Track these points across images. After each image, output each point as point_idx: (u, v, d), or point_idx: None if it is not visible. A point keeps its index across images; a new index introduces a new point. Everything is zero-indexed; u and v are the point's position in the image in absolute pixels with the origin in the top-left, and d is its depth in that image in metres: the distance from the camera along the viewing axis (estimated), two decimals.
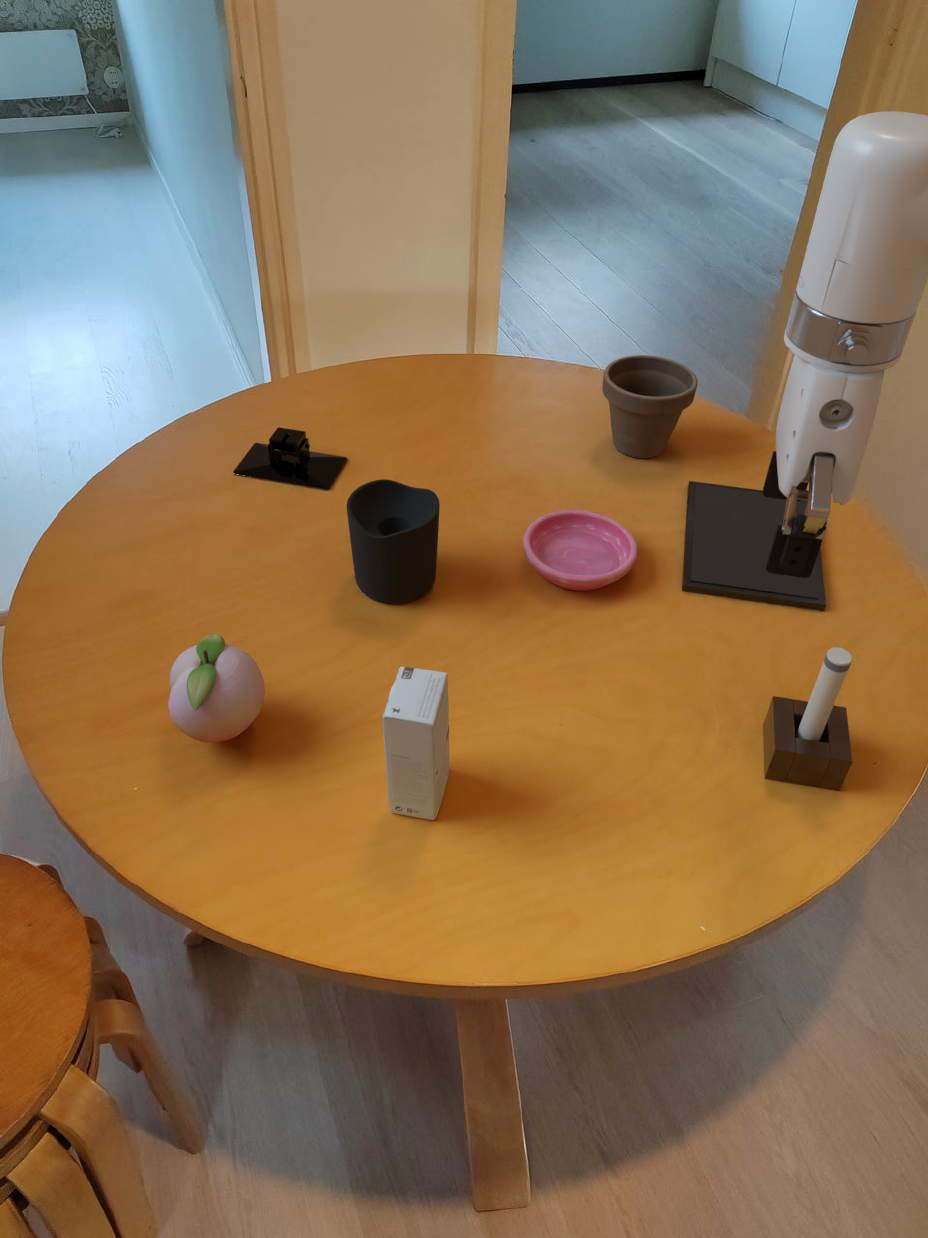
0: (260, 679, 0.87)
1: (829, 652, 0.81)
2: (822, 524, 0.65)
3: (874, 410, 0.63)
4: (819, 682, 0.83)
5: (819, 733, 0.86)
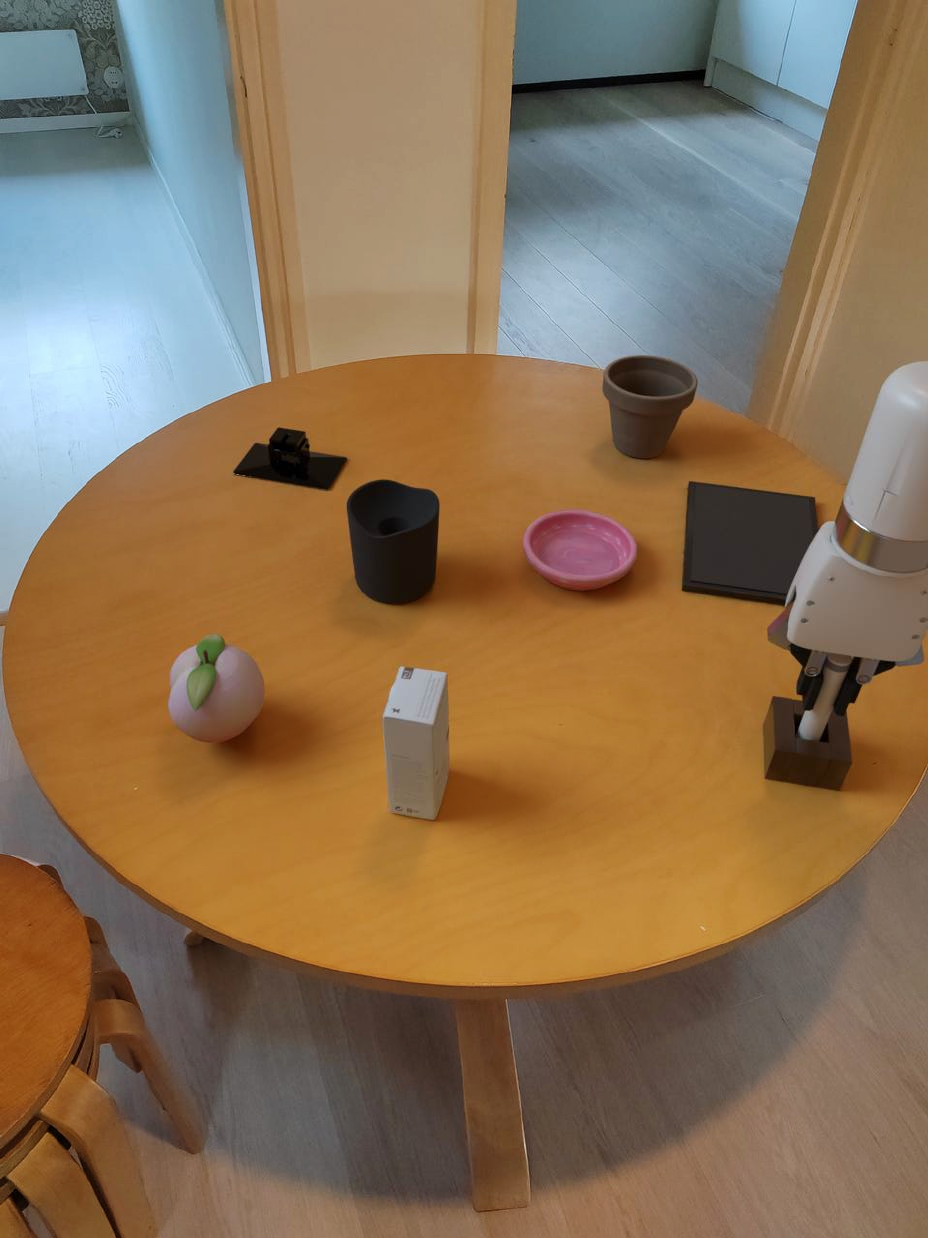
0: (260, 679, 0.87)
1: (829, 652, 0.81)
2: None
3: None
4: None
5: (819, 733, 0.86)
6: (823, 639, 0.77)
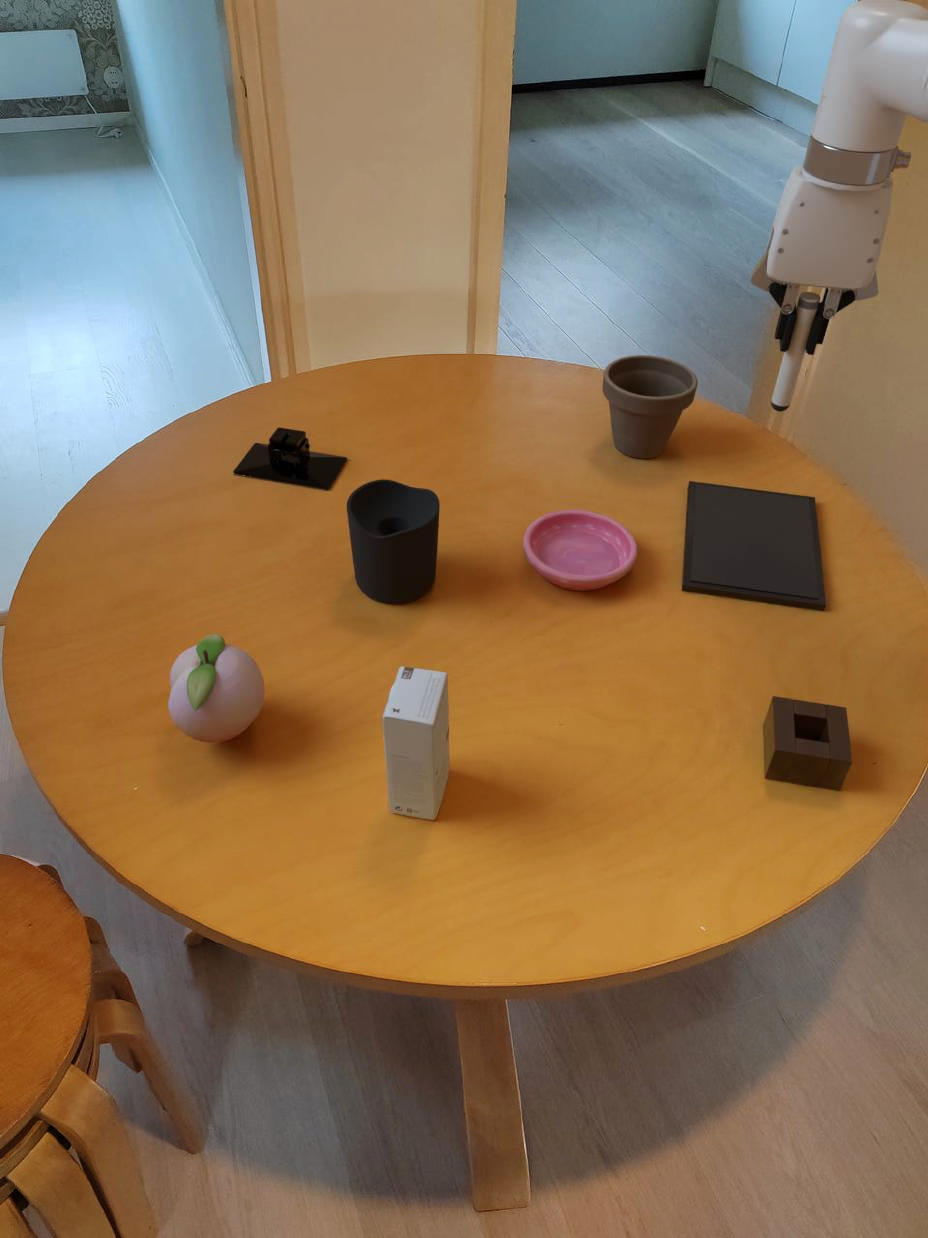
0: (260, 679, 0.87)
1: (801, 293, 0.98)
2: None
3: None
4: None
5: (794, 378, 1.03)
6: (796, 269, 0.95)
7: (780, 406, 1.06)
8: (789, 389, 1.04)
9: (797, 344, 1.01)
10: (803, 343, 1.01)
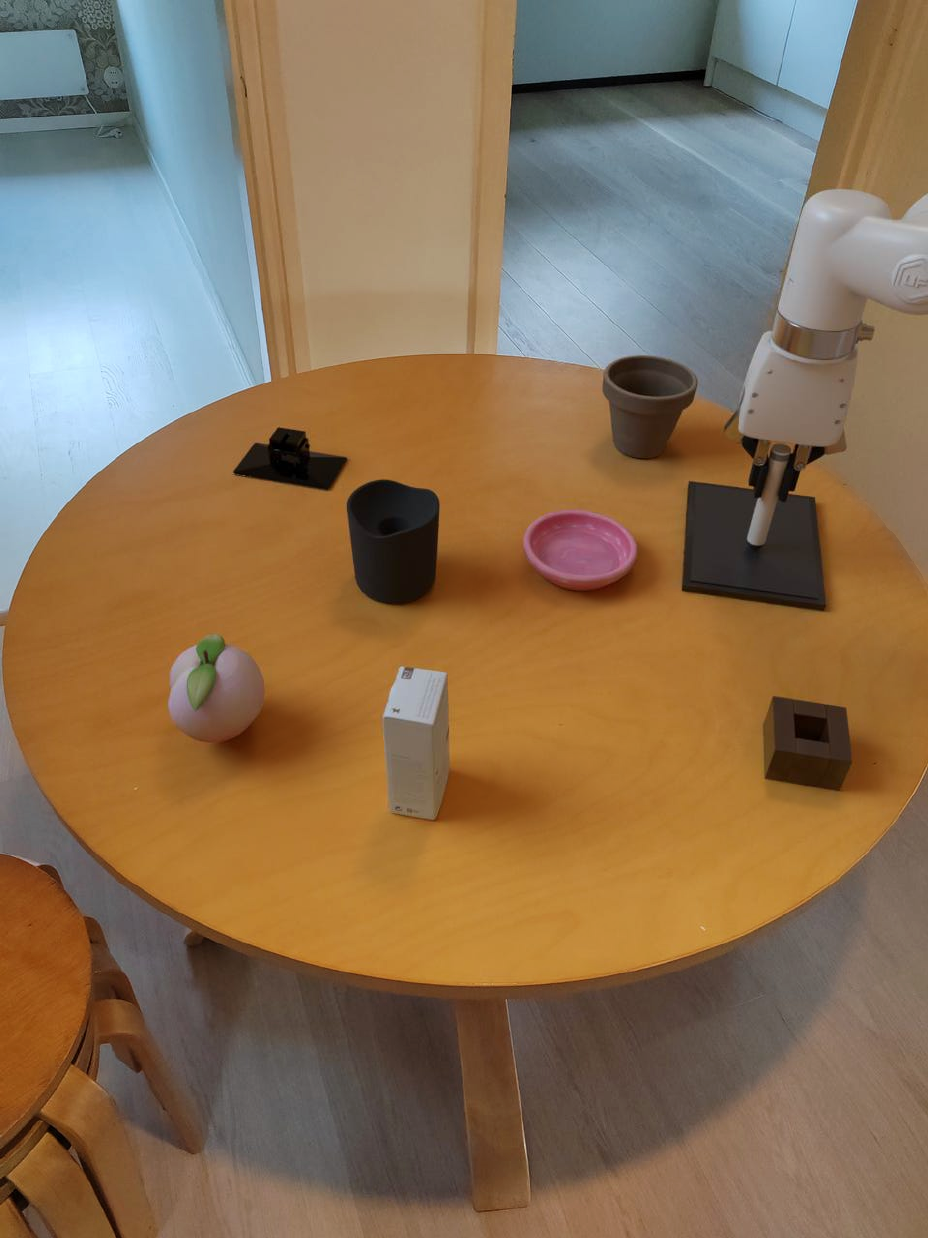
0: (260, 679, 0.87)
1: (773, 446, 1.02)
2: None
3: None
4: None
5: (768, 521, 1.07)
6: (766, 428, 0.98)
7: (755, 545, 1.09)
8: (763, 530, 1.08)
9: (770, 491, 1.04)
10: (775, 490, 1.04)
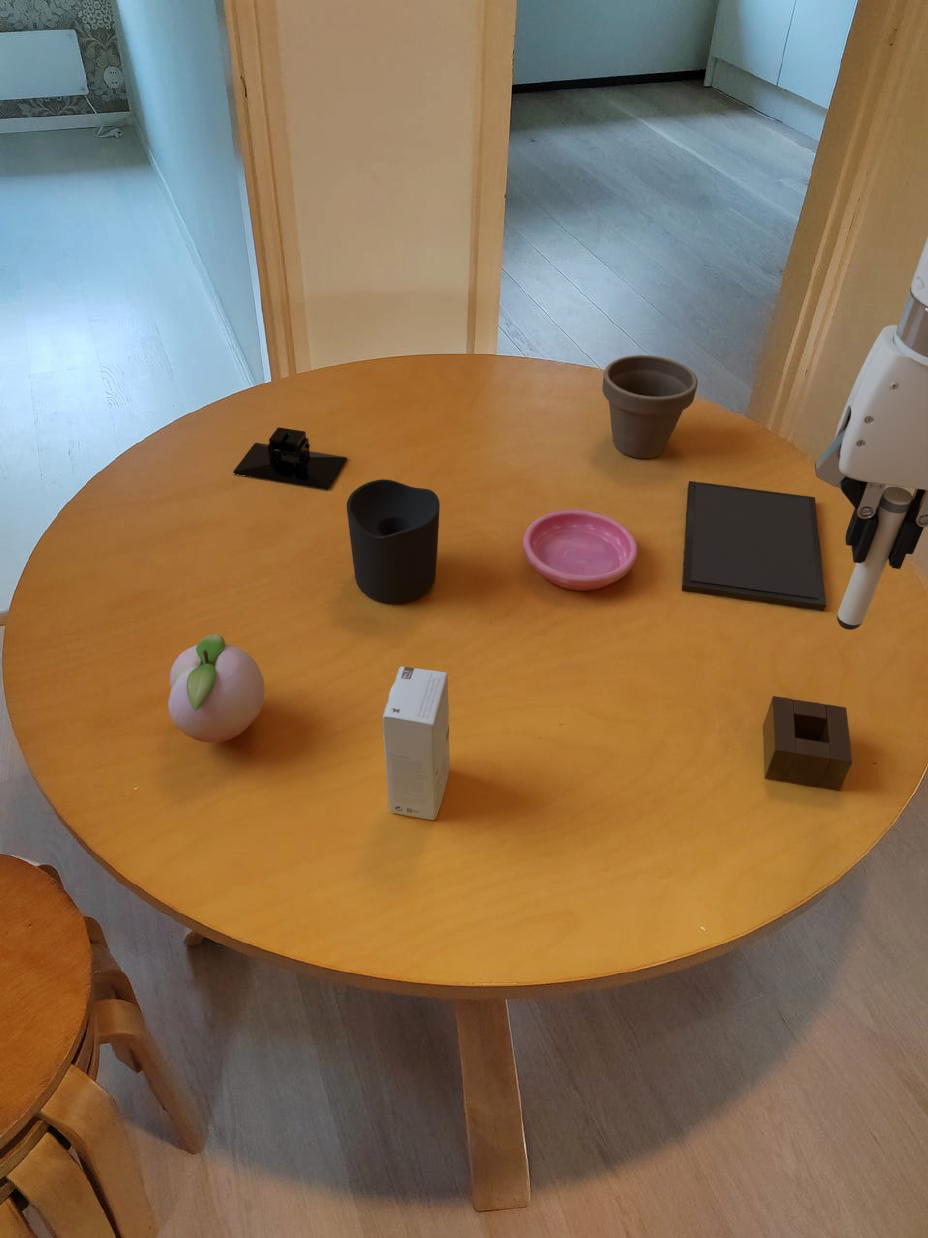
0: (260, 679, 0.87)
1: (886, 491, 0.71)
2: None
3: None
4: None
5: (870, 593, 0.76)
6: (881, 466, 0.67)
7: (850, 625, 0.78)
8: (863, 606, 0.77)
9: (877, 554, 0.73)
10: (885, 553, 0.73)
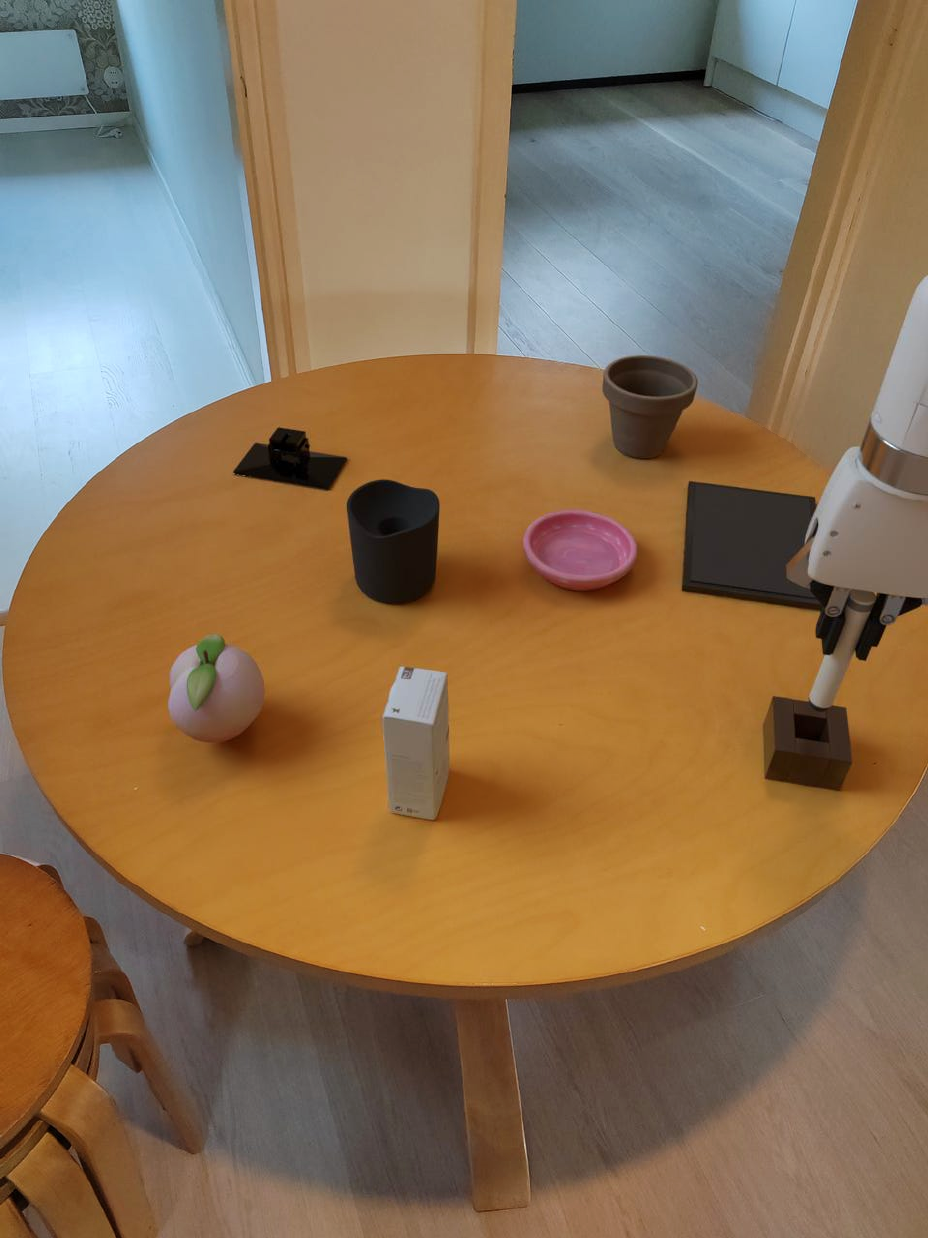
0: (260, 679, 0.87)
1: (851, 591, 0.76)
2: None
3: None
4: None
5: (839, 680, 0.81)
6: (846, 574, 0.73)
7: (820, 708, 0.84)
8: (832, 691, 0.82)
9: (844, 647, 0.79)
10: (852, 646, 0.79)
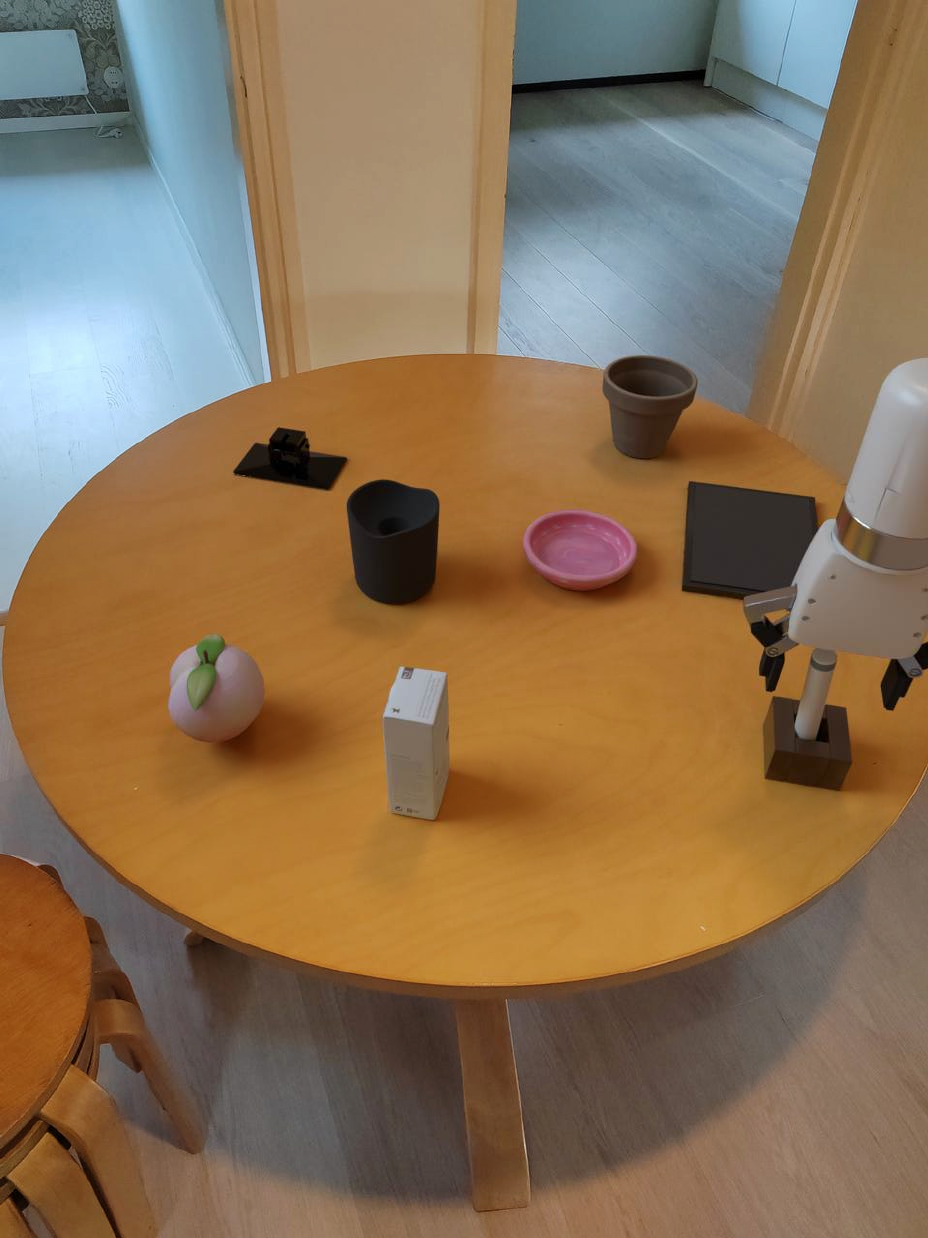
0: (260, 679, 0.87)
1: (814, 652, 0.81)
2: None
3: None
4: (807, 682, 0.83)
5: (814, 733, 0.86)
6: (824, 637, 0.77)
7: None
8: None
9: (814, 703, 0.83)
10: (821, 702, 0.83)
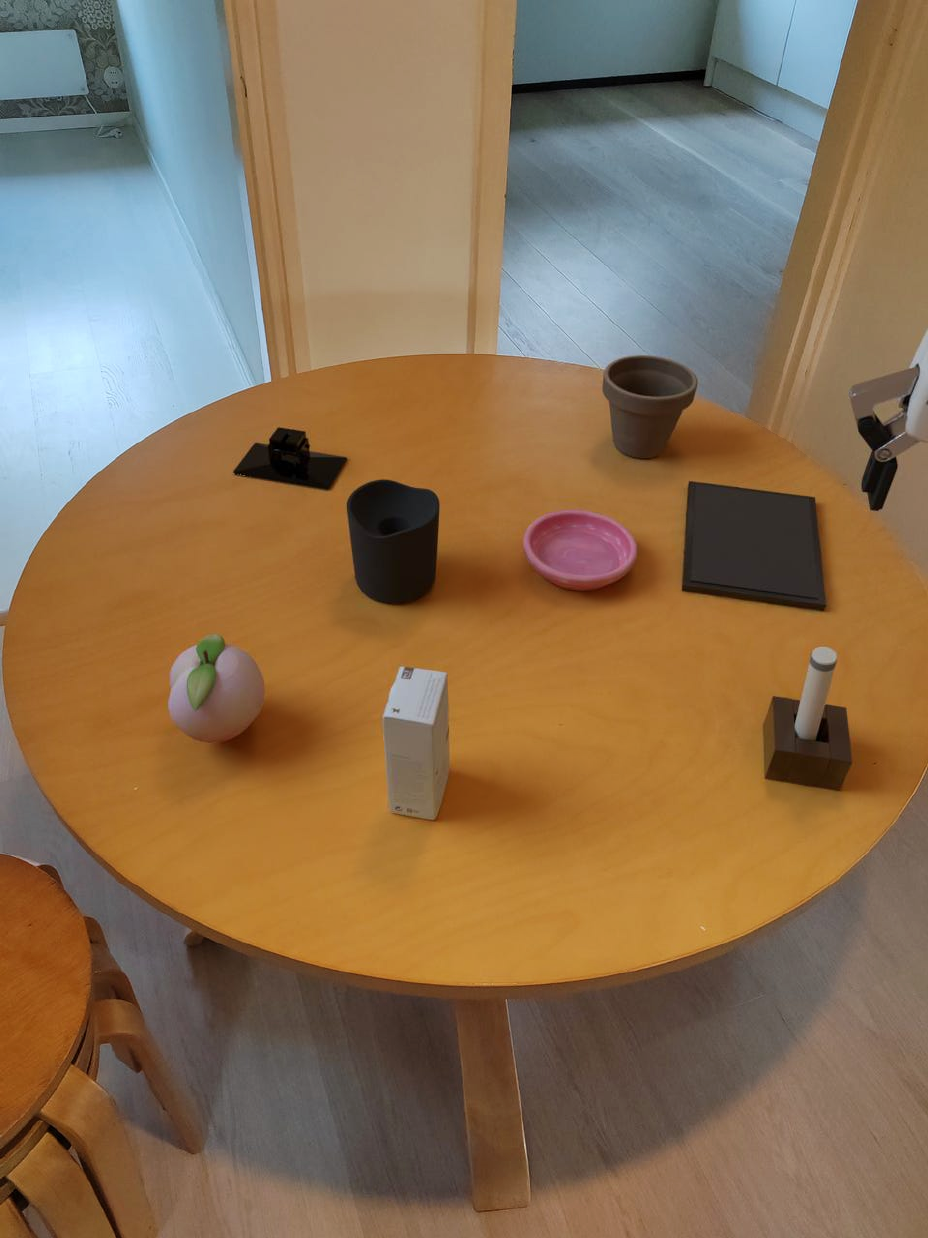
0: (260, 679, 0.87)
1: (814, 652, 0.81)
2: None
3: None
4: (807, 682, 0.83)
5: (814, 733, 0.86)
6: None
7: None
8: None
9: (814, 703, 0.83)
10: (821, 702, 0.83)
